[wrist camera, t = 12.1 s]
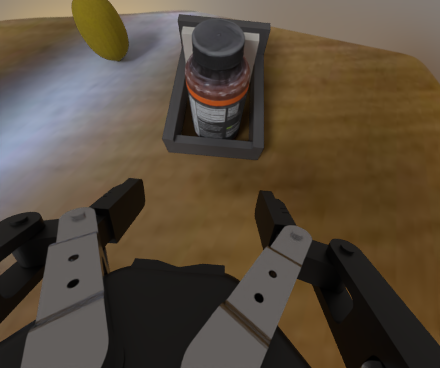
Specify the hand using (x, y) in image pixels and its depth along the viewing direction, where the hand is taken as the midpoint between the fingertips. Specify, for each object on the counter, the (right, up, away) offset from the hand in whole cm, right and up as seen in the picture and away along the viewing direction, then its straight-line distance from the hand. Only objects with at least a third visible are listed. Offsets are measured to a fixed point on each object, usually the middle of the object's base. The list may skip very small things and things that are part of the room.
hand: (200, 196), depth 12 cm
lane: (+1, +12, +13) cm, 17 cm away
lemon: (-14, +20, +15) cm, 29 cm away
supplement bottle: (+1, +8, +12) cm, 14 cm away
